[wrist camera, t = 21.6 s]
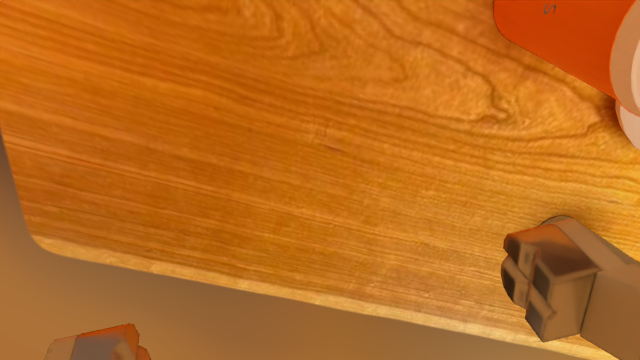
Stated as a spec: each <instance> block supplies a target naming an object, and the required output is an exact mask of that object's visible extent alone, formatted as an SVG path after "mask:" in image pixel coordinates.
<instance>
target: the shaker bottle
mask: <svg viewBox="0 0 640 360" xmlns="http://www.w3.org/2000/svg"><path fill="white" fill-rule="evenodd" d="M494 18H495V22H496V25H497V27H498V29H499V31H500V32H501V34H502V35H503V36H504V37H505V38H507V39H508V40H510V41H511V42H513V43H515V44H517V45H519V46H520V47H522V48H524V49H526V50H528V51H529V52H531V53H533V54H535V55H537V56H538V57H540V58H542V59H544V60H546V61H547V62H549V63H551V64H553V65H555V66H556V67H558V68H560V69H562V70H564V71H565V72H567V73H569V74H571V75H573V76H574V77H576V78H578V79H580V80H582V81H583V82H585V83H587V84H589V85H591V86H592V87H594V88H596V89H598V90H600V91H601V92H603V93H605V94H607V95H609V96H610V97H612V98H614V99H616V100H618V102H619V103H620V104H621V105H622V106H623V107H624V108H625V109H626V110H627V111H628V112H630V113H632V114H634V115H636V116H638V117H640V0H494Z"/></svg>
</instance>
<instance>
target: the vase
mask: <svg viewBox="0 0 640 360" xmlns="http://www.w3.org/2000/svg"><path fill="white" fill-rule="evenodd" d="M615 110H616V113H617V117H618V121H619V124H620V127H621V128H622V130H623V131H624V133H625V134H626V135H627V137H628V138H629V139H630V141H631V142H632V144H633V145H634V146H635V147H636V148H638V149H639V150H640V117H638V116H636V115H634V114H632V113H630V112H628V111H627V110H626V109H625V108H624V107H623V106H622V105H621V104H620V103H619V102H618V100H616V105H615Z"/></svg>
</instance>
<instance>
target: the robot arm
mask: <svg viewBox="0 0 640 360" xmlns="http://www.w3.org/2000/svg"><path fill="white" fill-rule="evenodd" d="M503 248H504V249H505V251H506V252H507V253H508V256H507V257H506V258H505V259H504V261H503V262H502V264H501V277H502V282H503V286H504V288H505V290H506V292H507V294H508V296H509V297H510V299H511V300H512V301H513V303H514V304H516V305H518V306H520V307H522V308H524V309H526V315H525V319H526V321H527V322H528V323H529V325H530V326H531V327H532V329H533V330H534V331H535V333H536V334H537V335H538V337H539V338H540V340H541V341H542V342H548V341H552V340H556V339H560V338H565V337H569V336H573V335H578V334H580V336H581V337H583V338H584V339H586V340H588V341H589V342H591V343H593V344H594V345H596V346H598V347H599V348H601V349H603V350H604V351H606V352H608V353H609V354H611V355H613V356H614V357H616V358H618V359H619V360H640V266H639V265H636V264H634V263H633V264H628V265H626V264H625V263H624V262H623V261H622V260H621V259H620V258H619V257H618V256H616V255H615V254H614V253H613V252H612V251H611V250H610V249H609V248H608V247H606V246H605V245H604V244H603V243H602V242H601V241H600V240H599V239H598V238H596V237H595V236H594V235H593V234H592V233H591V232H590V231H589V230H588V229H587V228H585V227H584V226H583V225H582V224H581V223H580V222H579V221H577V220H575V219H572V218H570V219H566V220H562V221H558V222H554V223H550V224H546V225H542V226H538V227H534V228H530V229H526V230H522V231H518V232H514V233H510V234H507V236H506V238H505V239H504V247H503ZM138 343H139V333H138V331H137V329H136V328H135V326H134V324H125V325H121V326H115V327H111V328H106V329H102V330H96V331H92V332H87V333H82V334H80V335H75V336H71V337H66V338H61V339H56V340H54V341H53V342H52V344H51V345H50V346H49V348H48V351H47V354H46V357H45V360H151V358H150V356H149V353H148V351H147V349H145V348H143V347H141V346H139V345H138Z"/></svg>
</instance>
